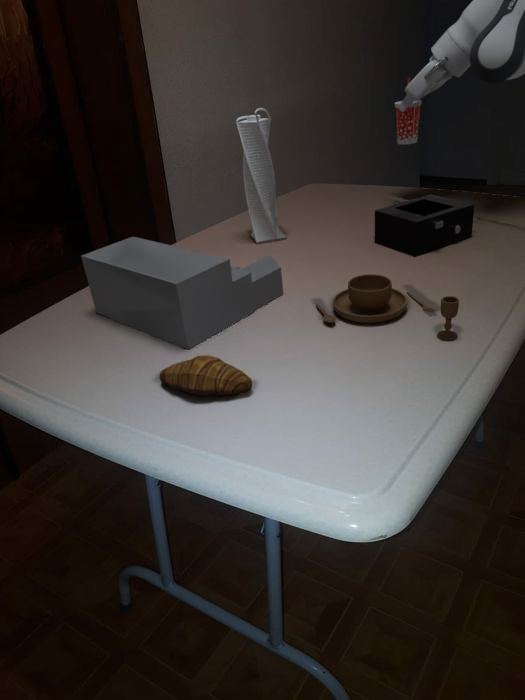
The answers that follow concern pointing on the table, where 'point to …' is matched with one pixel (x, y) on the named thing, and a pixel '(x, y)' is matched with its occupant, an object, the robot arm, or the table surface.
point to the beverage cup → (408, 122)
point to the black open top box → (423, 224)
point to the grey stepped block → (176, 289)
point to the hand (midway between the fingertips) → (405, 106)
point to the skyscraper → (259, 178)
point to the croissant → (206, 377)
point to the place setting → (383, 303)
